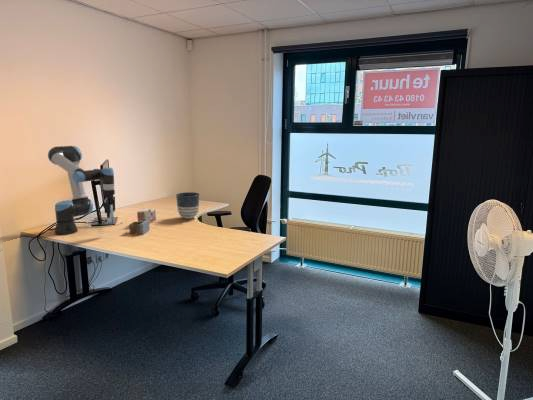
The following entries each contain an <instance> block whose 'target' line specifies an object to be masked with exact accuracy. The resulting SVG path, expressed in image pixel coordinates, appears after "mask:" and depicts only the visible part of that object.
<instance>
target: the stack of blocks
mask: <svg viewBox="0 0 533 400" xmlns="http://www.w3.org/2000/svg"><path fill="white" fill-rule="evenodd" d="M136 214H137V216H136V217H137V222H144V221H146V220H149V225H151V224H152V223H154V222H155V221H156V220H157V214H156V209H152V208H142V209H140V210H138V211H137V213H136Z"/></svg>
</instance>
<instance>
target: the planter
mask: <svg viewBox="0 0 533 400" xmlns="http://www.w3.org/2000/svg"><path fill="white" fill-rule="evenodd" d="M175 196H176V197H175V198H176V206H177V212H178V215H179V216H180V217H181V218H182V219H187V220H190V219H194V218H195V217H196V216H197V215H198V213H199V211H200V209H199V208H200V193H198V192H194V191H190V192H185V191H184V192H180V193H179V192H178V193H176V195H175Z"/></svg>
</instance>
